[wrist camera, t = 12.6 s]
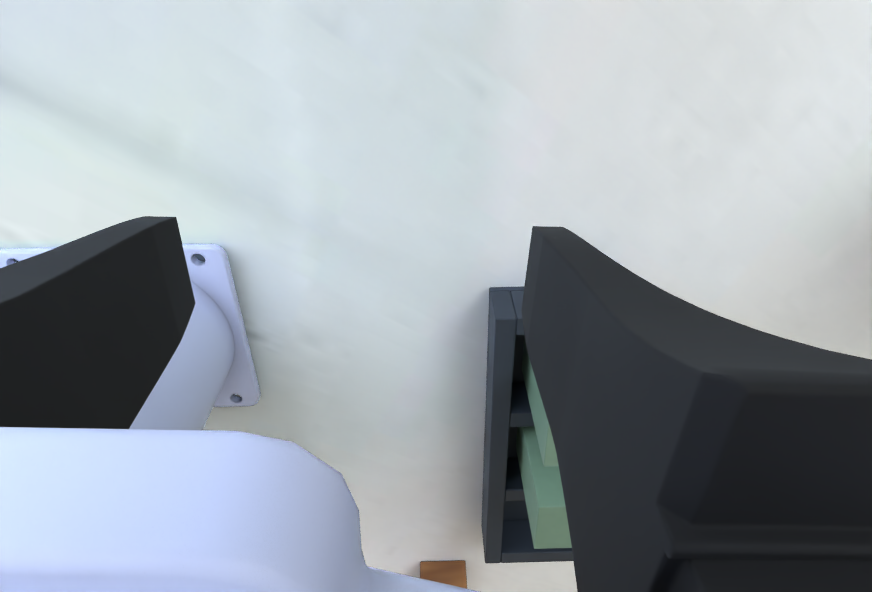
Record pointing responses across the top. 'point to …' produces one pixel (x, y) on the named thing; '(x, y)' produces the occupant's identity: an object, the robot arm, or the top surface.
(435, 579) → the oak stick
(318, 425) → the top surface
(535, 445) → the middle green stick
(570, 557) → the organizer
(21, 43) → the top surface
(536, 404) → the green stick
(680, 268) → the top surface
